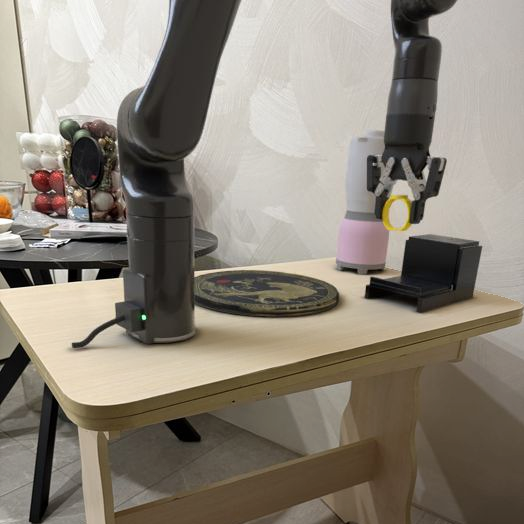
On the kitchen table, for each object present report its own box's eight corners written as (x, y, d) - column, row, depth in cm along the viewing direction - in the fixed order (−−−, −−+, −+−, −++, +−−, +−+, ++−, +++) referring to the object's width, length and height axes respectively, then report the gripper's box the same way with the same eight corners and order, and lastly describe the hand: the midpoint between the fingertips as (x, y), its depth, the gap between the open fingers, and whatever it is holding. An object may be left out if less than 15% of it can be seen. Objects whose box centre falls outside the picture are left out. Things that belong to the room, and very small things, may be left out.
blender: (370, 277, 122) (387, 129, 111) (325, 268, 129) (338, 128, 118) (398, 268, 134) (416, 134, 123) (356, 261, 141) (370, 133, 130)
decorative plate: (155, 278, 102) (270, 264, 121) (155, 288, 103) (270, 272, 121) (249, 318, 81) (372, 293, 99) (249, 329, 82) (371, 302, 100)
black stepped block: (420, 312, 95) (429, 249, 91) (364, 297, 103) (371, 239, 99) (472, 297, 107) (483, 241, 103) (419, 285, 116) (427, 233, 112)
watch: (415, 232, 87) (420, 196, 85) (404, 233, 86) (409, 196, 84) (388, 228, 92) (392, 193, 90) (377, 229, 90) (381, 193, 88)
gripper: (359, 112, 85) (350, 217, 91) (438, 109, 75) (422, 227, 81) (386, 116, 90) (376, 215, 96) (464, 113, 80) (447, 225, 86)
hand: (397, 220), depth 88 cm, fingers closed on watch, 6 cm apart
